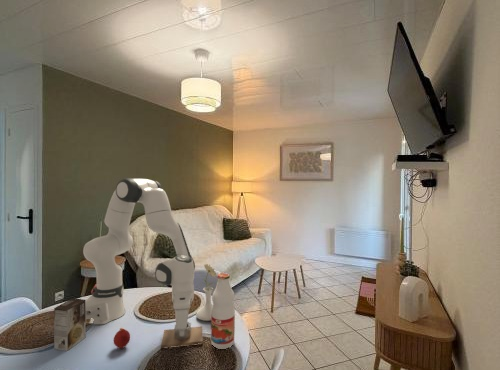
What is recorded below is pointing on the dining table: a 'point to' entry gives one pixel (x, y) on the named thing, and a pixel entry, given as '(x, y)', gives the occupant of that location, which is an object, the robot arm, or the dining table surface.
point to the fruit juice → (223, 313)
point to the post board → (170, 341)
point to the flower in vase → (207, 298)
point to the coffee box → (69, 324)
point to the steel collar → (186, 332)
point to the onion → (121, 338)
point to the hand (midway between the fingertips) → (182, 328)
